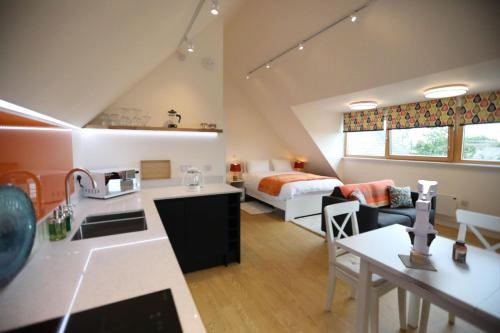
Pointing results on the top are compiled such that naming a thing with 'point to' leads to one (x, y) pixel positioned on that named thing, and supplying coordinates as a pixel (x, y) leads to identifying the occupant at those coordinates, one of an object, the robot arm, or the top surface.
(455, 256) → the supplement bottle
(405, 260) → the charcoal mat
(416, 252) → the wooden cube
